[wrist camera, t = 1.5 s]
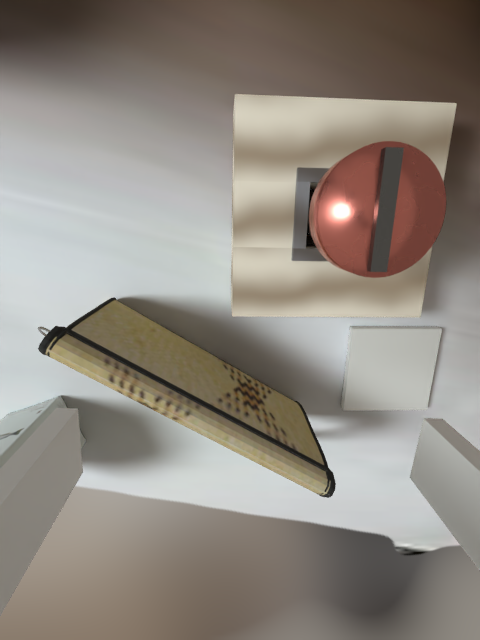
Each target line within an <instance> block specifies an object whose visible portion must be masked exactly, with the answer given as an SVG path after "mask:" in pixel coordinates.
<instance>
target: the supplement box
mask: <svg viewBox="0 0 480 640" xmlns="http://www.w3.org/2000/svg"><path fill="white" fill-rule="evenodd" d="M56 408H67V406H66V404H65V402H64V401H63V399H62V398H61V396H58V397H55V398H53V399H50V400H48V401H45V402H42V403H40V404H37V405H34V406H31V407H28V408H25V409H22V410H19V411H16V412H12V413H9V414H7V415H6V416H5V417H4V418H3V419H1V420H0V468H1V467H2V466H3V465H4V464H5V463H6V462H7V461H8V460H9V459H10V457H11V456H12V455H13V454H14V453H15V452H16V451H17V450H18V449H19V448H20V447H21V446H22V445H23V443H24V442H25V441H26V440H27V439H28V438H29V437H30V436H31V435H32V434H33V433H34V432H35V430H36V429H37V428H38V427H39V426H40V425H41V424H42V423H43V422H44V421H45V420H46V419H47V418H48V416H49V415H50V414H51V413H52V412H53V411H54V410H55V409H56ZM80 441H81V449H82V447H83V446H84V444H85V443H86V440H85V438H84V436H83V434H82V433H81V431H80Z"/></svg>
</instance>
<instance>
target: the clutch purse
mask: <svg viewBox="0 0 480 640" xmlns="http://www.w3.org/2000/svg"><path fill="white" fill-rule="evenodd" d="M41 329H43V330H45V331H47V332H48V334H47V335H46V334H45V333H43V332H42V331H41ZM38 330H39V331H40V332H41V333H42V334H43V335H44V336H45V337H44V339H43V340H42V342H41V343H40V345H39V348H38V349H39V351H40V352H41V353H42V354H44V355H47V356H49V357H51V358H53V359H55V360H57V361H59V362H61V363H63V364H65V365H67V366H69V367H70V368H72V369H74V370H76V371H78V372H80V373H82V374H84V375H86V376H88V377H90V378H92V379H94V380H96V381H98V382H100V383H102V384H104V385H106V386H108V387H110V388H112V389H113V390H115V391H117V392H119V393H121V394H123V395H125V396H127V397H129V398H131V399H133V400H135V401H137V402H139V403H141V404H143V405H145V406H147V407H149V408H151V409H153V410H154V411H156V412H158V413H160V414H162V415H164V416H166V417H168V418H170V419H172V420H174V421H176V422H178V423H180V424H182V425H184V426H186V427H188V428H190V429H192V430H194V431H196V432H197V433H199V434H201V435H203V436H205V437H207V438H209V439H211V440H213V441H215V442H217V443H219V444H221V445H223V446H225V447H227V448H229V449H231V450H233V451H235V452H237V453H238V454H240V455H242V456H244V457H246V458H248V459H250V460H252V461H254V462H256V463H258V464H260V465H262V466H264V467H266V468H268V469H270V470H272V471H274V472H276V473H278V474H280V475H281V476H283V477H285V478H287V479H289V480H291V481H293V482H295V483H297V484H299V485H301V486H303V487H305V488H307V489H309V490H311V491H313V492H315V493H317V494H319V495H320V496H322V497H328V498H329V497H331V496H332V495H333V493H334V491H335V485H336V484H335V479H334V475H333V472H332V471H331V470H330V469H329V468H328V465H327V461H326V459H325V456H324V453H323V451H322V449H321V446H320V444H319V442H318V440H317V438H316V436H315V433H314V431H313V429H312V427H311V424H310V422H309V420H308V417H307V415H306V413H305V411H304V409H303V407H302V405H301V404H300V403H299V402H297V401H293V400H291V399H289V398H287V397H286V396H284V395H282V394H280V393H279V392H277V391H275V390H273V389H272V388H270V387H268V386H266V385H265V384H263V383H261V382H259V381H257V380H256V379H254V378H252V377H250V376H249V375H247V374H245V373H243V372H242V371H240V370H238V369H236V368H235V367H233V366H231V365H229V364H228V363H226V362H224V361H222V360H220V359H219V358H217V357H215V356H213V355H212V354H210V353H208V352H206V351H205V350H203V349H201V348H199V347H198V346H196V345H194V344H192V343H190V342H189V341H187V340H185V339H183V338H182V337H180V336H178V335H176V334H175V333H173V332H171V331H169V330H168V329H166V328H164V327H162V326H161V325H159V324H157V323H155V322H153V321H152V320H150V319H148V318H146V317H145V316H143V315H141V314H139V313H138V312H136V311H134V310H132V309H131V308H129V307H127V306H125V305H124V304H122V303H120V302H118V301H116V298H111V299H109V300H107V301H106V302H104V303H102V304H101V305H99V306H98V307H96V308H95V309H93V310H92V311H90V312H89V313H87V314H85V315H84V316H82V317H81V318H79V319H77V320H76V321H74V322H73V323H72V324H70V325H69V326H68V327H66V328H65V327H59V326H55V327H54V328H53V329H52V330H48V329H46V328H44V327H38Z"/></svg>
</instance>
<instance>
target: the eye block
mask: <svg viewBox="0 0 480 640" xmlns="http://www.w3.org/2000/svg"><path fill="white" fill-rule="evenodd" d="M456 105H457V103H439V102H415V101H390V100H366V99H341V98H317V97H293V96H268V95H244V94H235V100H234V111H233V179H232V265H231V310H232V316H246V317H421V311H422V305H423V299H424V293H425V287H426V281H427V275H428V270H429V264H430V258H431V252H432V247H431V248H430V249H429V250H428V252H427V253H426V254H425V255H424V256H423V257H422V258H421V259H420V260H419V261H418V262H416V263H415V264H414V265H413V266H411V267H409V268H408V269H406V270H404V271H402V272H400V273H397V274H394V275H391V276H387V277H380V278H370V277H363V276H359V275H356V274H353V273H350V272H347V271H345V270H342V269H339V268H338V267H336V266H334V265H332V264H331V263H330V262H328V261H327V260H326V259H325V258H324V257H323V256H322V254H321V253H320V252H319V250H318V249H317V247H316V246H306V236H307V222H308V208H309V193H310V189H316V187H317V185H318V183H319V181H320V180H321V178H322V177H323V175H324V174H325V173H326V172H327V171H328V170H329V169H330V168H331V167H332V166H333V165H334V164H335V163H336V162H338V161H339V160H341V159H342V158H344V157H346V156H347V155H349V154H351V153H353V152H354V151H356V150H358V149H360V148H362V147H364V146H367V145H369V144H372V143H377V142H382V141H396V142H402V143H406V144H409V145H411V146H414V147H416V148H417V149H419V150H421V151H422V152H423V153H425V154H426V155H427V156H428V157H429V158H430V159H431V160H432V162H433V163H434V164H435V165H436V167H437V169H438V170H439V172H440V175H441V177H442V179H443V181H444V175H445V170H446V164H447V158H448V152H449V146H450V140H451V134H452V128H453V122H454V117H455V111H456ZM432 246H433V245H432Z"/></svg>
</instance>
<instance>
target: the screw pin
mask: <svg viewBox="0 0 480 640" xmlns="http://www.w3.org/2000/svg"><path fill="white" fill-rule="evenodd" d="M445 211H446V193H445V187H444V183H443V179H442V177H441V175H440V172H439V170H438V169H437V167H436V165H435V164H434V163H433V162H432V160H431V159H430V158H429V157H428V156H427V155H426V154H425V153H423V152H422V151H421V150H419V149H417V148H416V147H414V146H411V145H409V144H406V143H402V142H396V141H382V142H377V143H372V144H369V145H367V146H364V147H362V148H360V149H358V150H356V151H354V152H353V153H351V154H349V155H347V156H346V157H344V158H342V159H341V160H339V161H338V162H336V163H335V164H334V165H333V166H332V167H331V168H330V169H329V170H328V171H327V172H326V173H325V174H324V175H323V177H322V178H321V180H320V181H319V183H318V185H317V187H316V189H315V191H314V194H313V196H312V200H311V202H310V203H309V208H308V222H307V233H308V234H309V235H311V236H312V238H313V241H314V243H315V245H316V247H317V249H318V250H319V252H320V253H321V254H322V256H323V257H324V258H325V259H326V260H327V261H328V262H330V263H331V264H332V265H334V266H336V267H338V268H339V269H342V270H345V271H347V272H350V273H353V274H356V275H359V276H363V277H370V278H380V277H387V276H391V275H394V274H397V273H400V272H402V271H404V270H406V269H408V268H409V267H411V266H413V265H414V264H415V263H416V262H418V261H419V260H420V259H421V258H422V257H423V256H424V255H425V254H426V253H427V252H428V250H429V249H430V248H431V247H432V245H433V244H434V242H435V240H436V239H437V237H438V235H439V233H440V230H441V227H442V225H443V221H444V217H445Z"/></svg>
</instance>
